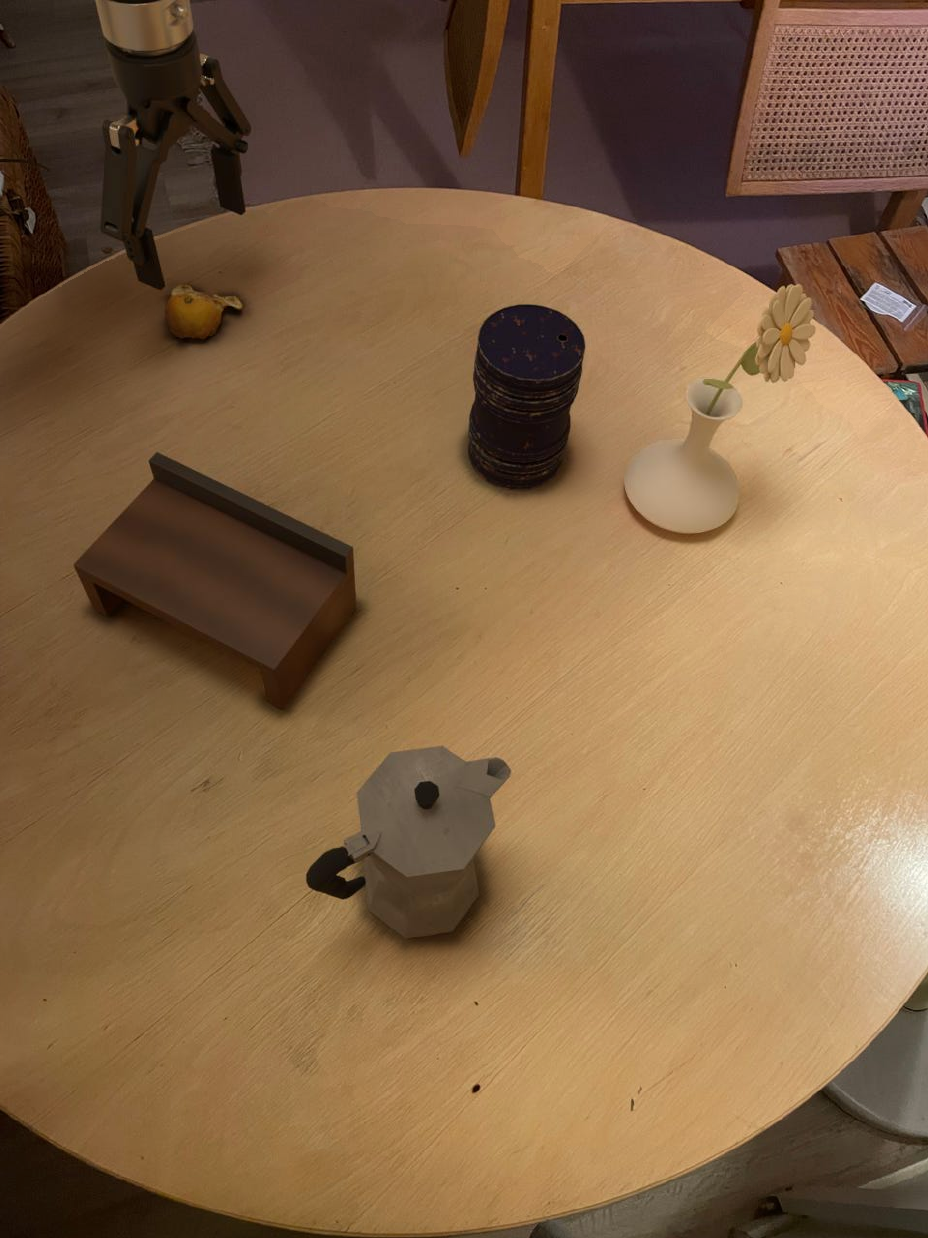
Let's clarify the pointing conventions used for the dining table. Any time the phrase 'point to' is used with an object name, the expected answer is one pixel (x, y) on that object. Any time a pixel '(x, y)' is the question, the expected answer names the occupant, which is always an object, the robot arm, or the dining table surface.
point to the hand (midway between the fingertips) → (193, 245)
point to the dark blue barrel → (523, 395)
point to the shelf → (225, 573)
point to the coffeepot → (417, 839)
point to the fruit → (195, 312)
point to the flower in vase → (689, 469)
